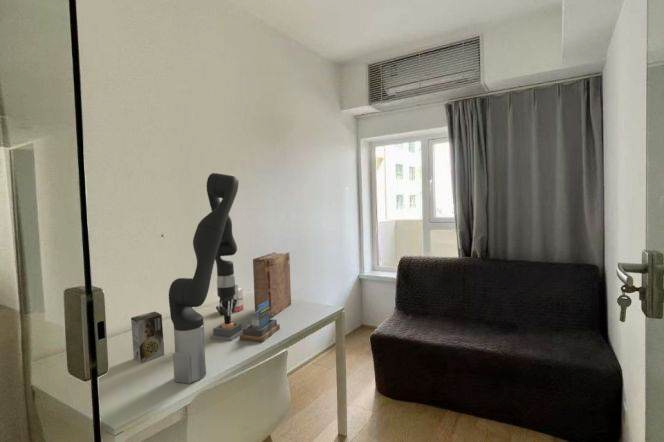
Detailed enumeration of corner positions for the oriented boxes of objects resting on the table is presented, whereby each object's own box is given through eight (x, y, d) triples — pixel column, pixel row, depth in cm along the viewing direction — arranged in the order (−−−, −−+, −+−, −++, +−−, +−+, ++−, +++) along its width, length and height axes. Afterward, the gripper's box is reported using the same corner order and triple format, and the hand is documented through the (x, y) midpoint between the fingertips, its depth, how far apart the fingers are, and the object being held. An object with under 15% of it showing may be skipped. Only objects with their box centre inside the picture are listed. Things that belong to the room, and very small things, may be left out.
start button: (229, 333, 151) (229, 325, 151) (219, 332, 153) (219, 325, 152) (236, 329, 156) (235, 322, 156) (226, 328, 158) (225, 321, 157)
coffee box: (157, 350, 139) (155, 311, 138) (164, 354, 135) (162, 313, 134) (132, 358, 132) (130, 317, 131) (140, 363, 128) (137, 320, 127)
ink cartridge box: (244, 309, 192) (242, 282, 192) (239, 311, 188) (237, 284, 187) (230, 308, 195) (229, 282, 194) (225, 310, 190) (224, 284, 189)
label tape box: (261, 326, 158) (260, 299, 158) (269, 326, 157) (268, 299, 157) (251, 333, 150) (250, 304, 149) (260, 333, 149) (259, 305, 148)
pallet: (262, 342, 145) (262, 331, 144) (239, 339, 148) (239, 329, 148) (279, 328, 160) (279, 319, 160) (258, 326, 163) (258, 317, 163)
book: (276, 303, 202) (274, 252, 200) (291, 304, 199) (289, 252, 198) (254, 317, 178) (252, 259, 176) (271, 318, 175) (269, 259, 173)
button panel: (231, 340, 147) (231, 331, 147) (209, 338, 151) (209, 329, 151) (245, 331, 158) (245, 322, 158) (224, 329, 161) (224, 320, 161)
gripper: (224, 288, 146) (226, 329, 147) (241, 281, 158) (243, 319, 159) (209, 288, 148) (211, 328, 149) (227, 281, 161) (229, 318, 162)
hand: (227, 323), depth 154 cm, fingers closed
